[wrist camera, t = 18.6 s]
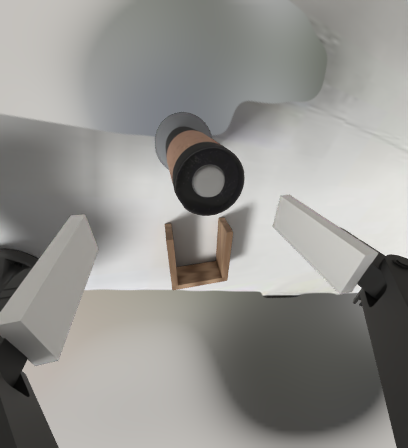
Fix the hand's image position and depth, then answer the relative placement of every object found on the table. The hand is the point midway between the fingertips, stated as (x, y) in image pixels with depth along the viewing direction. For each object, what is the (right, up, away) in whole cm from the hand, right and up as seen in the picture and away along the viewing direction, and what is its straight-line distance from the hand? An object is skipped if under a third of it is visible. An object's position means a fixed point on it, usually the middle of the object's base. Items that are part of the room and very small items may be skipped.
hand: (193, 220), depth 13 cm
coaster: (-3, +15, +23) cm, 28 cm away
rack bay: (-2, -6, +37) cm, 38 cm away
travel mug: (-3, +15, +23) cm, 27 cm away
